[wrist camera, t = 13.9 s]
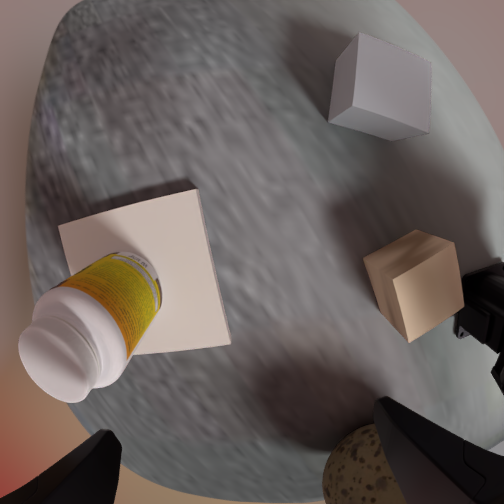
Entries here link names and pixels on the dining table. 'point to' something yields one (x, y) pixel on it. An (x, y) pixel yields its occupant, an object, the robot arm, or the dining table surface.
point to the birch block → (416, 282)
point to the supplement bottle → (90, 326)
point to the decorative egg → (360, 471)
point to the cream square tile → (161, 266)
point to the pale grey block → (381, 90)
